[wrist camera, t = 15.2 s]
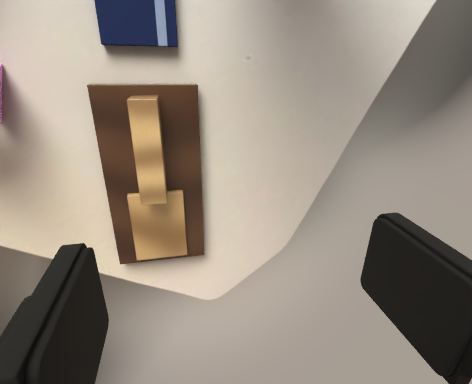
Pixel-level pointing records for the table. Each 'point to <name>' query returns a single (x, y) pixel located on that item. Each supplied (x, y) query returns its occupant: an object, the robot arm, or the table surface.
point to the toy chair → (0, 92)
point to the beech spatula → (153, 187)
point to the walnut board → (175, 155)
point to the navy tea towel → (137, 22)
